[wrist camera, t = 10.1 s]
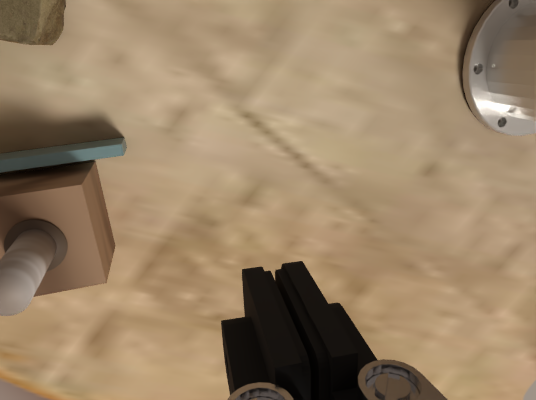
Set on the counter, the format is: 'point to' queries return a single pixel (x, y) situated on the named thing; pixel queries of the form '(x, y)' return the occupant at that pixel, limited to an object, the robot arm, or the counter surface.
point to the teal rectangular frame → (62, 154)
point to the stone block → (31, 21)
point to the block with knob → (52, 233)
